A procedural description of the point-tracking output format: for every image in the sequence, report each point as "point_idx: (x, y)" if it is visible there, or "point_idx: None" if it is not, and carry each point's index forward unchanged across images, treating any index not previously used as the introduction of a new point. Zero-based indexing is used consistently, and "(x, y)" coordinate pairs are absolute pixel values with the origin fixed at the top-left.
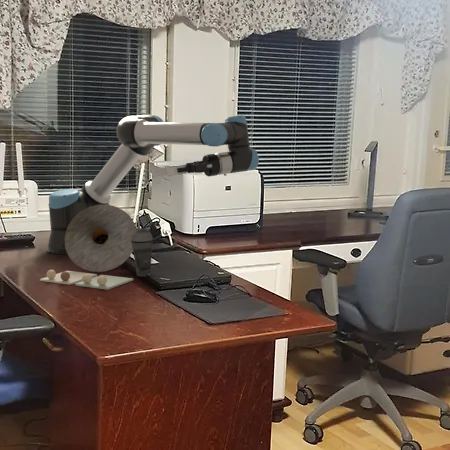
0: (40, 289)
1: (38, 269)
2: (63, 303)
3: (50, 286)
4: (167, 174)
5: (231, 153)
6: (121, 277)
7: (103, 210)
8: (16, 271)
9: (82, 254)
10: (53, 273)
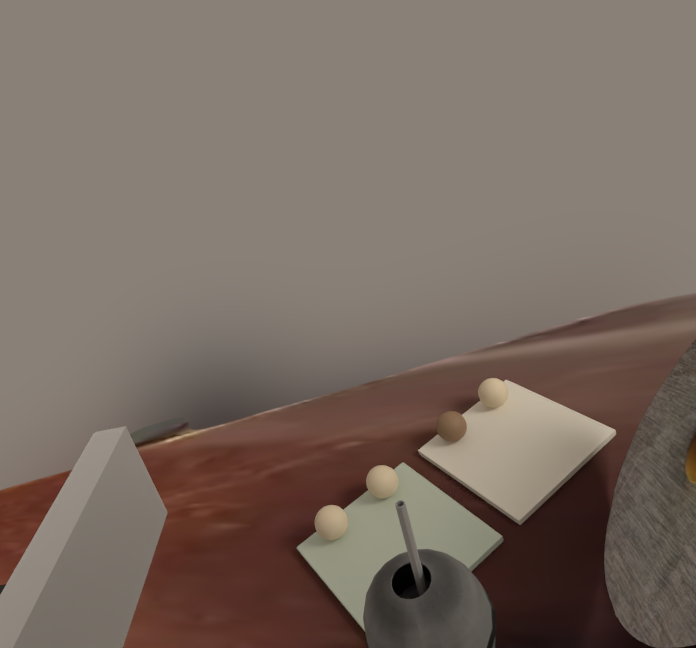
0: (403, 397)
1: None
2: (237, 452)
3: (425, 412)
4: (157, 497)
5: None
6: None
7: None
8: (666, 318)
9: (656, 433)
10: (480, 394)
